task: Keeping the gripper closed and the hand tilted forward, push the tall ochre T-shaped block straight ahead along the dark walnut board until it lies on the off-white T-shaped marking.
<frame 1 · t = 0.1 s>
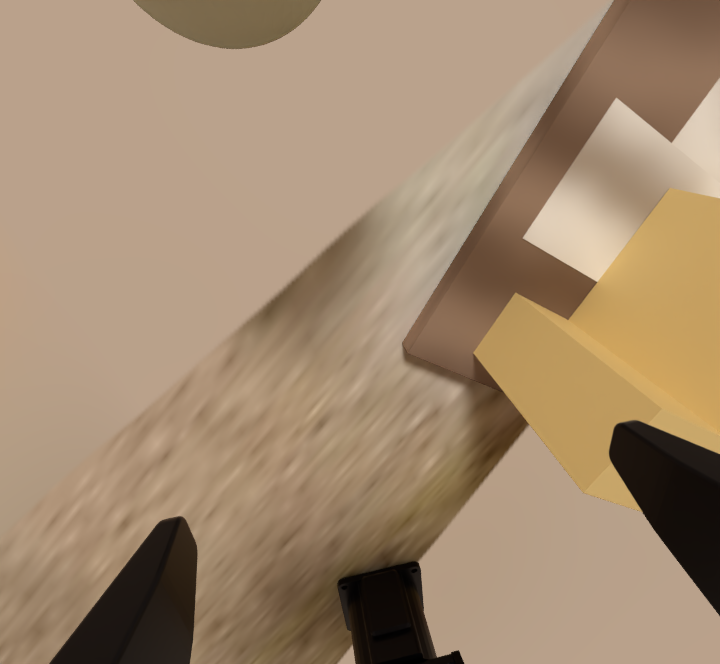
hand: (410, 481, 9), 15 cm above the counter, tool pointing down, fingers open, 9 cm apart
t block: (615, 303, 24), point 1 cm above the counter, touching walnut board
walnut board: (700, 166, 23), on the counter
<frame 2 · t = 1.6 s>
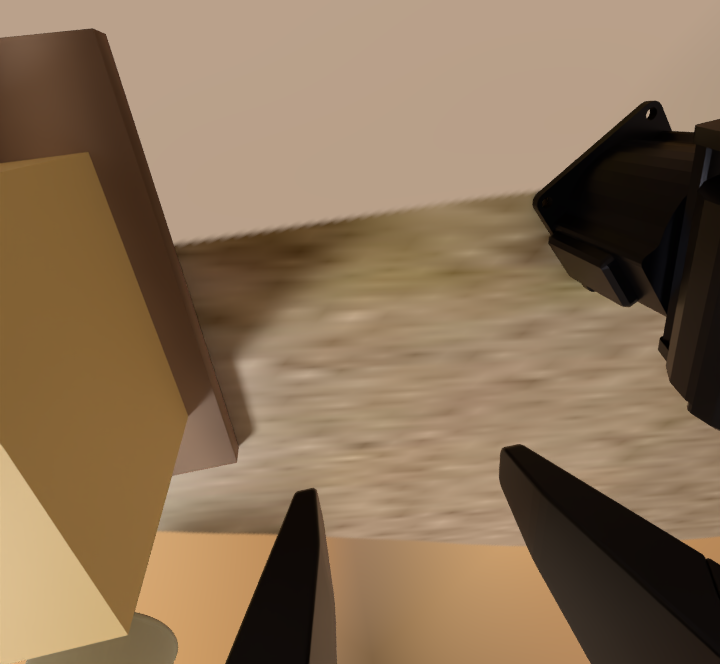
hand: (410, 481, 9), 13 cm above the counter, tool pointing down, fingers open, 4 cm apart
can: (108, 646, 30), on the counter
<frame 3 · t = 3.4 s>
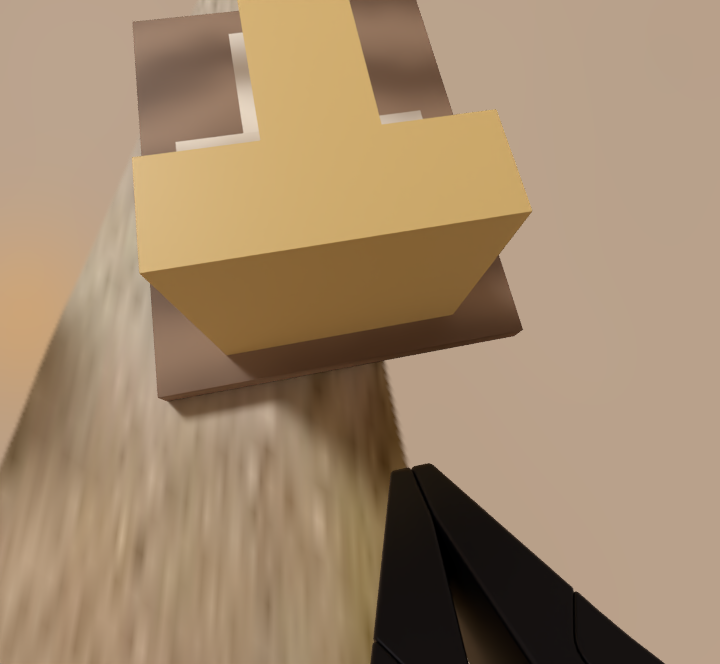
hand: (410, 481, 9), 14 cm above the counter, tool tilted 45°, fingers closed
t block: (322, 233, 24), point 1 cm above the counter, touching walnut board
walnut board: (301, 134, 28), on the counter
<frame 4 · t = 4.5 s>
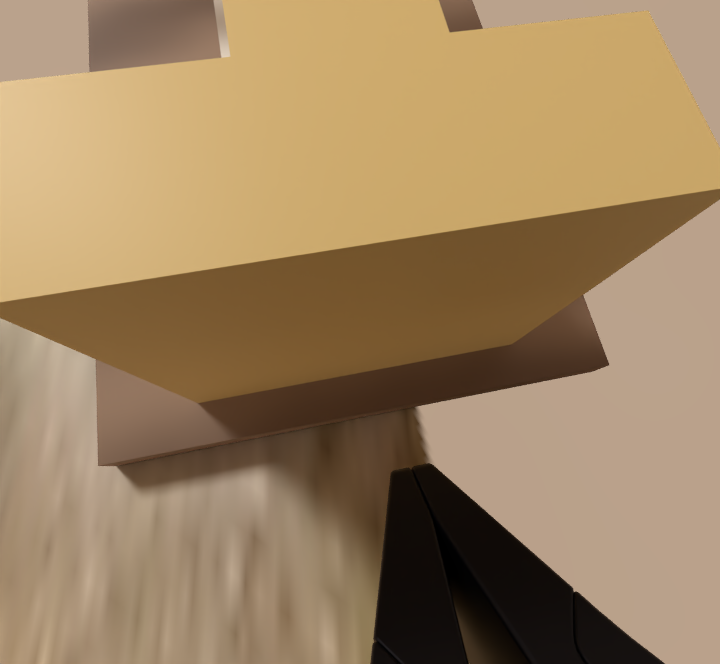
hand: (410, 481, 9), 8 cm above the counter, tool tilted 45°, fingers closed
t block: (332, 232, 18), point 1 cm above the counter, touching walnut board
walnut board: (304, 104, 21), on the counter
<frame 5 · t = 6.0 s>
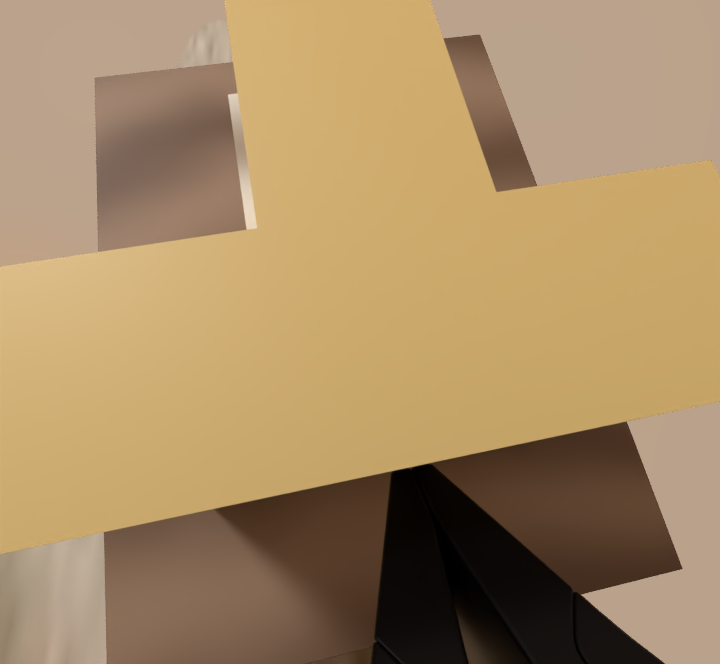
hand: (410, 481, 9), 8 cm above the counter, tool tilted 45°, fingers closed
t block: (348, 312, 17), point 1 cm above the counter, touching walnut board
walnut board: (330, 236, 20), on the counter
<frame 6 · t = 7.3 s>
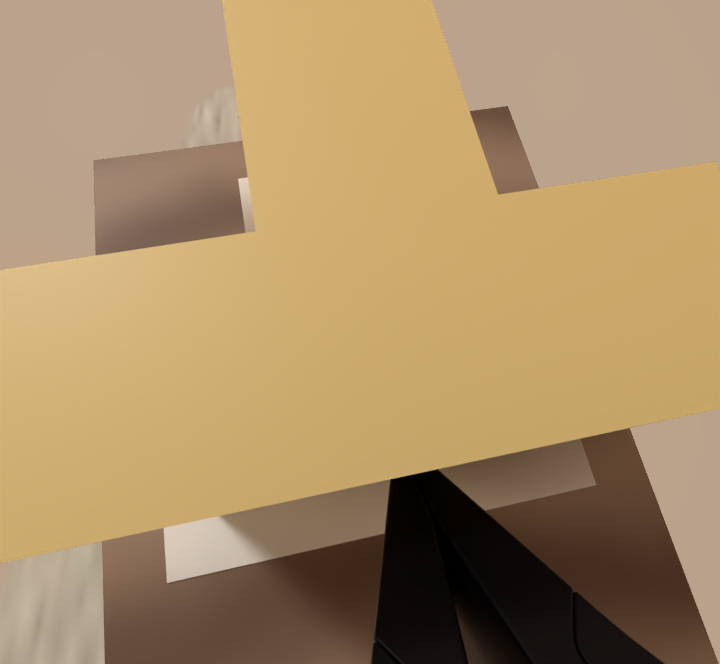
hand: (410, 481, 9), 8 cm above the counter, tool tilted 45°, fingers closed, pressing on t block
t block: (347, 312, 17), point 1 cm above the counter, touching gripper, walnut board
walnut board: (349, 335, 18), on the counter
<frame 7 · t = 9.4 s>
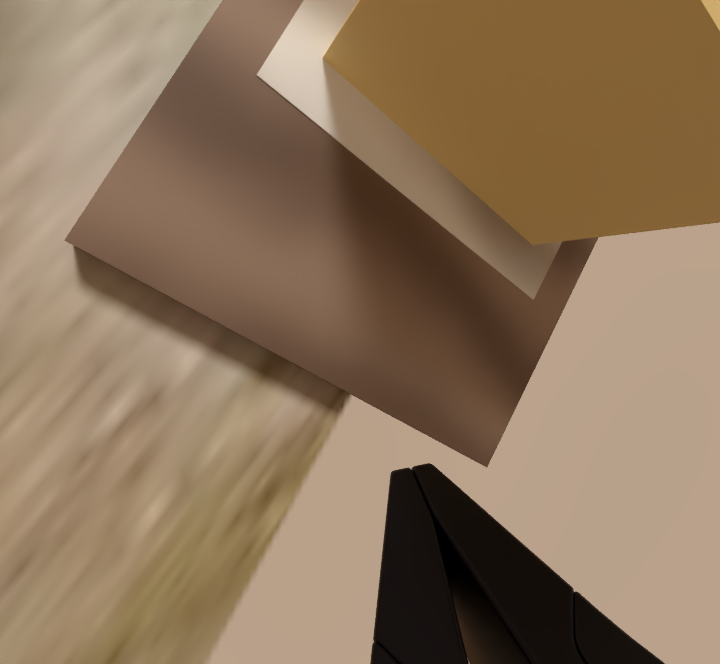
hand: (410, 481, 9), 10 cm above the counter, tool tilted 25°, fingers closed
t block: (504, 48, 19), point 1 cm above the counter, touching walnut board
walnut board: (479, 72, 20), on the counter
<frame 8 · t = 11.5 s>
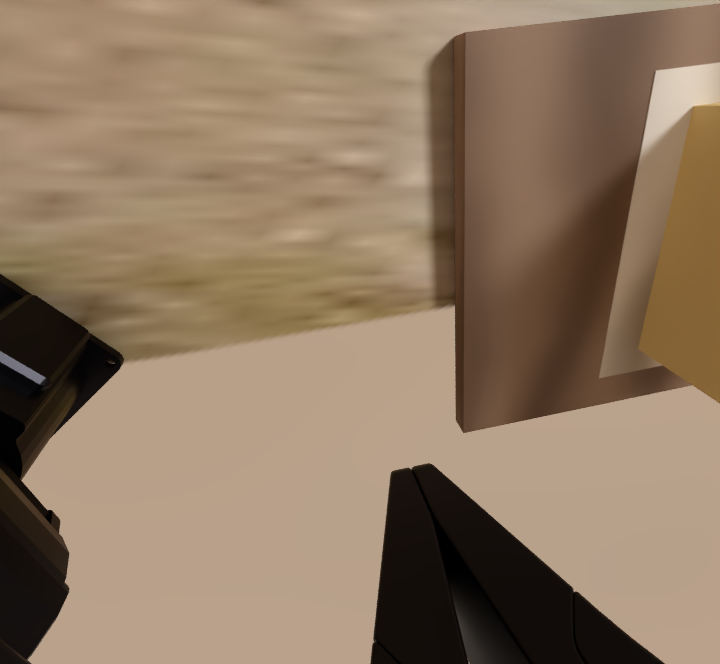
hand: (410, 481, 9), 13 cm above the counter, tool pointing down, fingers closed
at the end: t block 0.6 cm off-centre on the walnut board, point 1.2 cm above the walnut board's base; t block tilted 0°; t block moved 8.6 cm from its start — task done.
